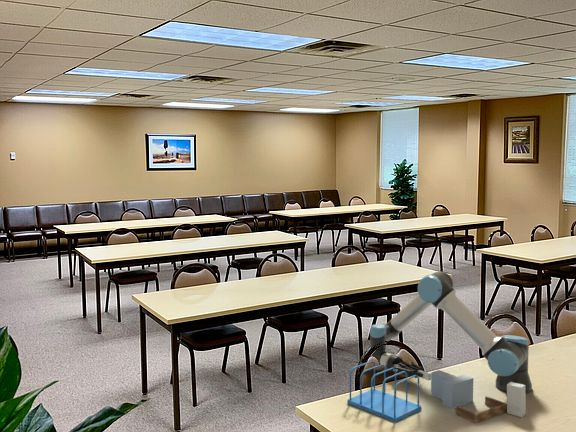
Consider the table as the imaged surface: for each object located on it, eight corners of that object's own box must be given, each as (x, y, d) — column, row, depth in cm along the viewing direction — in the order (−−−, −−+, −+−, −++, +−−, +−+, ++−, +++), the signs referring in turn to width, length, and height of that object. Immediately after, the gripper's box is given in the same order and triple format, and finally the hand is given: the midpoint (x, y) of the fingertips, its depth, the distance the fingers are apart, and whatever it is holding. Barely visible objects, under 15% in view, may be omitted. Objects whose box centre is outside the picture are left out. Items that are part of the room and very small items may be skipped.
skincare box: (525, 414, 231) (526, 384, 230) (521, 418, 227) (522, 387, 226) (510, 410, 235) (511, 380, 234) (506, 413, 231) (506, 384, 231)
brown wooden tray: (486, 403, 242) (486, 396, 242) (507, 411, 234) (507, 404, 233) (455, 414, 231) (456, 406, 231) (476, 423, 223) (476, 415, 223)
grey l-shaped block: (445, 390, 256) (445, 368, 256) (473, 401, 244) (473, 378, 243) (424, 396, 249) (424, 374, 248) (452, 408, 237) (452, 384, 236)
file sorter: (347, 403, 243) (347, 368, 242) (373, 393, 254) (373, 358, 253) (395, 422, 224) (395, 384, 223) (421, 410, 236) (422, 373, 235)
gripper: (402, 367, 278) (440, 382, 259) (381, 373, 271) (419, 388, 251) (402, 352, 278) (440, 366, 258) (381, 357, 270) (419, 371, 251)
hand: (429, 377), depth 255 cm, fingers closed
